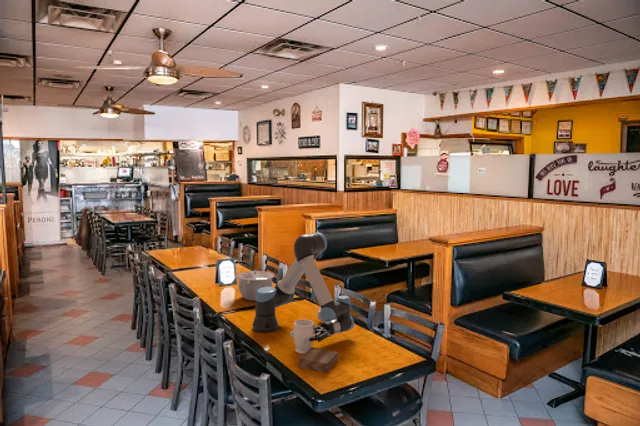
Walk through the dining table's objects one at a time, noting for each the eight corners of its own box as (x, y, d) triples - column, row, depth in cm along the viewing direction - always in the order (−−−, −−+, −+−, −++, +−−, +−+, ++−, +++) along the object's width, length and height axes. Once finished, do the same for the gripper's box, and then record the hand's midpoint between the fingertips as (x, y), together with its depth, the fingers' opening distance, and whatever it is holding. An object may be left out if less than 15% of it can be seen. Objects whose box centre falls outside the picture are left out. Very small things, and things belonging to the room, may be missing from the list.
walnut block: (299, 368, 215) (299, 358, 214) (311, 357, 227) (311, 347, 227) (326, 373, 209) (326, 363, 209) (337, 362, 222) (337, 352, 221)
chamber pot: (261, 291, 345) (261, 264, 343) (282, 299, 324) (282, 270, 322) (228, 297, 327) (228, 269, 325) (248, 306, 306) (247, 276, 304)
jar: (310, 355, 228) (311, 326, 226) (291, 353, 230) (291, 325, 228) (315, 347, 238) (315, 319, 237) (296, 345, 240) (296, 318, 239)
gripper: (344, 341, 236) (310, 351, 222) (316, 328, 254) (284, 338, 240) (344, 327, 236) (311, 337, 221) (316, 315, 253) (284, 324, 239)
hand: (297, 337), depth 231 cm, fingers closed on jar, 10 cm apart
